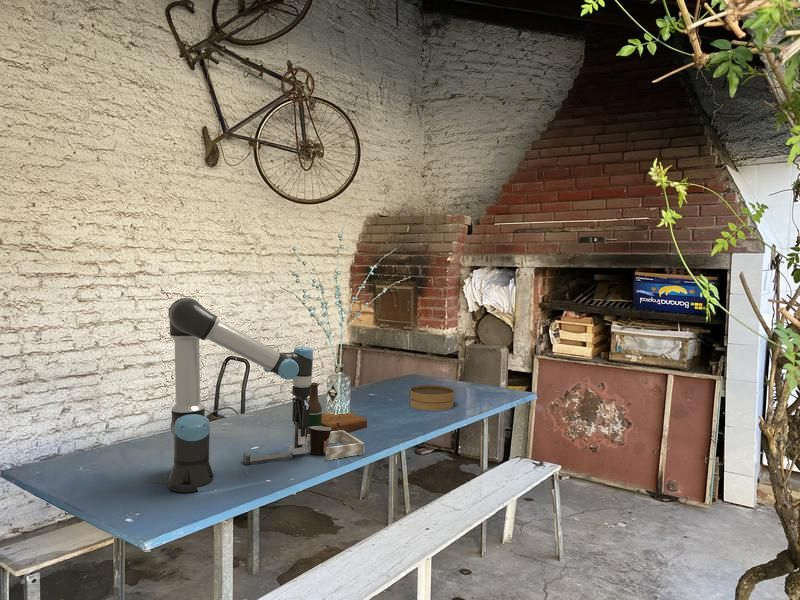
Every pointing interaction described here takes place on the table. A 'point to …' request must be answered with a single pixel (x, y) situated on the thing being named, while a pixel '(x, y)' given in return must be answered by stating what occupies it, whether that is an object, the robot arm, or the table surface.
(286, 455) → the rail
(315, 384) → the beer bottle
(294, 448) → the rod carriage
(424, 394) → the sieve
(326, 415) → the diary
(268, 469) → the table surface
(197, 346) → the robot arm
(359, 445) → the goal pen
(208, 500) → the table surface
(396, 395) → the table surface
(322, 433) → the coffee mug
